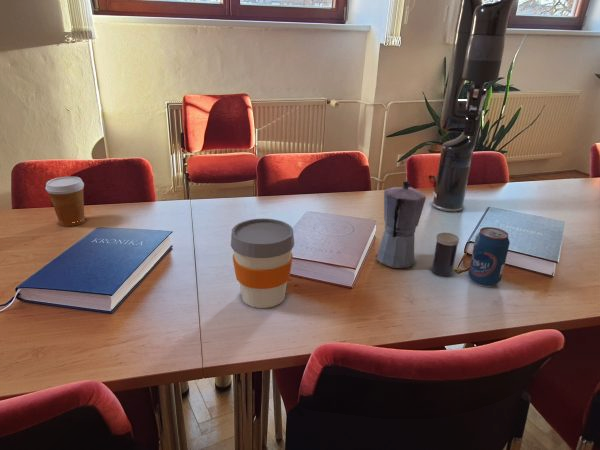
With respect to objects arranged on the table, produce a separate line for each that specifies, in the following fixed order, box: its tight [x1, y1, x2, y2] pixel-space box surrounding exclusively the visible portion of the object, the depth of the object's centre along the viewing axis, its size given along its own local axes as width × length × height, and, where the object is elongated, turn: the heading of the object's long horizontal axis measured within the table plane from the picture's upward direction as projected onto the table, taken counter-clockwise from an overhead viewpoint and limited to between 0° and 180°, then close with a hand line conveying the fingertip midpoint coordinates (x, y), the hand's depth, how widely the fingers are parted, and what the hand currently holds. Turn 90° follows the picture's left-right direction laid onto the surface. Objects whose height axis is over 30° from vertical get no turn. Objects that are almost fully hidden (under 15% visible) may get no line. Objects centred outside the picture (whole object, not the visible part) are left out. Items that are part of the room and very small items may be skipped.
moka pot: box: [376, 180, 427, 269], centre depth 103 cm, size 10×15×20 cm, turn 161°
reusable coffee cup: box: [230, 218, 295, 309], centre depth 89 cm, size 13×13×15 cm
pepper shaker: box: [431, 232, 460, 277], centre depth 102 cm, size 5×5×9 cm
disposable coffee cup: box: [44, 176, 86, 227], centre depth 122 cm, size 10×10×12 cm
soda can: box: [468, 226, 511, 288], centre depth 98 cm, size 7×7×12 cm
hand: (470, 132), depth 103 cm, fingers open, 8 cm apart
